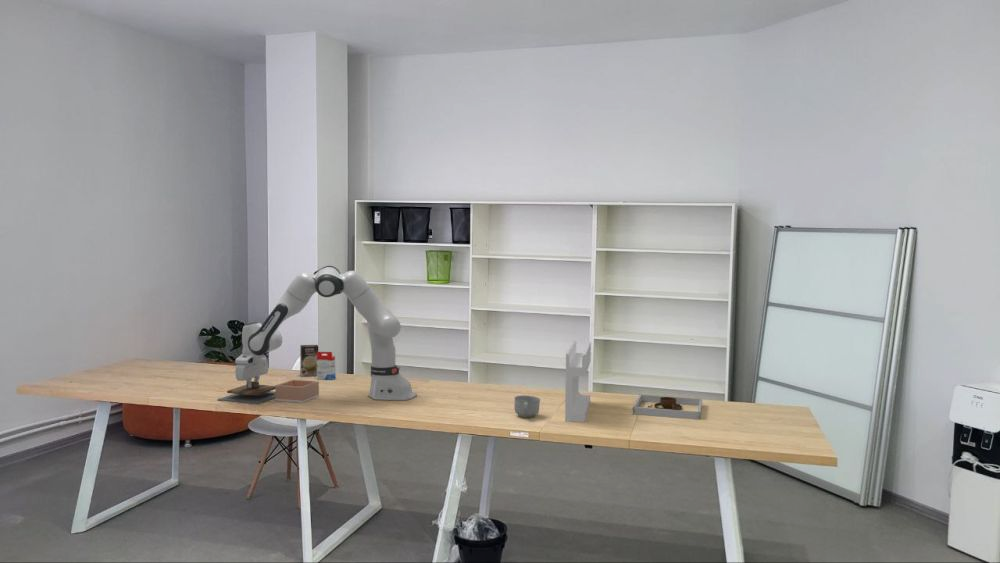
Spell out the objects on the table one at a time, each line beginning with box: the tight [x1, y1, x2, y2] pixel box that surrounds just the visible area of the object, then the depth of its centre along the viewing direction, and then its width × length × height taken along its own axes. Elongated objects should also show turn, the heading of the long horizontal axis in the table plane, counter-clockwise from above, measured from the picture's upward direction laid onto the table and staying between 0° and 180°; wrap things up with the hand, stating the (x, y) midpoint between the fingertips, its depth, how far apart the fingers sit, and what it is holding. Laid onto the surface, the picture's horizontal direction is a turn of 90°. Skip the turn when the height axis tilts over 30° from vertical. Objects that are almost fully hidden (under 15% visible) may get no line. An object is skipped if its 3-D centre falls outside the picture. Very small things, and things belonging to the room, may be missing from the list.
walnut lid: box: [226, 380, 275, 396], centre depth 345 cm, size 16×16×4 cm
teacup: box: [513, 394, 541, 419], centre depth 312 cm, size 14×11×8 cm
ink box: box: [316, 351, 336, 381], centre depth 387 cm, size 8×5×15 cm, turn 84°
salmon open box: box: [274, 379, 320, 404], centre depth 343 cm, size 14×14×7 cm
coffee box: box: [299, 344, 319, 378], centre depth 395 cm, size 9×6×16 cm
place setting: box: [647, 396, 683, 410], centre depth 326 cm, size 18×20×6 cm
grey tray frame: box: [632, 393, 703, 420], centre depth 327 cm, size 28×26×3 cm
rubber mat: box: [217, 390, 276, 405], centre depth 346 cm, size 22×22×1 cm
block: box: [564, 340, 592, 423], centre depth 321 cm, size 35×8×28 cm, turn 170°
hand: (252, 386), depth 345 cm, fingers closed on walnut lid, 2 cm apart
